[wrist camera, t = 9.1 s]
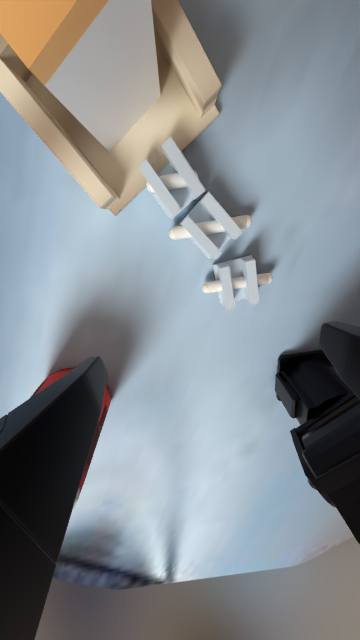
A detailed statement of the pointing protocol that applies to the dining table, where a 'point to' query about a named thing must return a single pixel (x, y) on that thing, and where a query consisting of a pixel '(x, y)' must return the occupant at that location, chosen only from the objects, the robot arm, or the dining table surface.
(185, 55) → the holder
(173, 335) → the dining table surface
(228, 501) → the dining table surface
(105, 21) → the orange-topped block
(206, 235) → the clip
